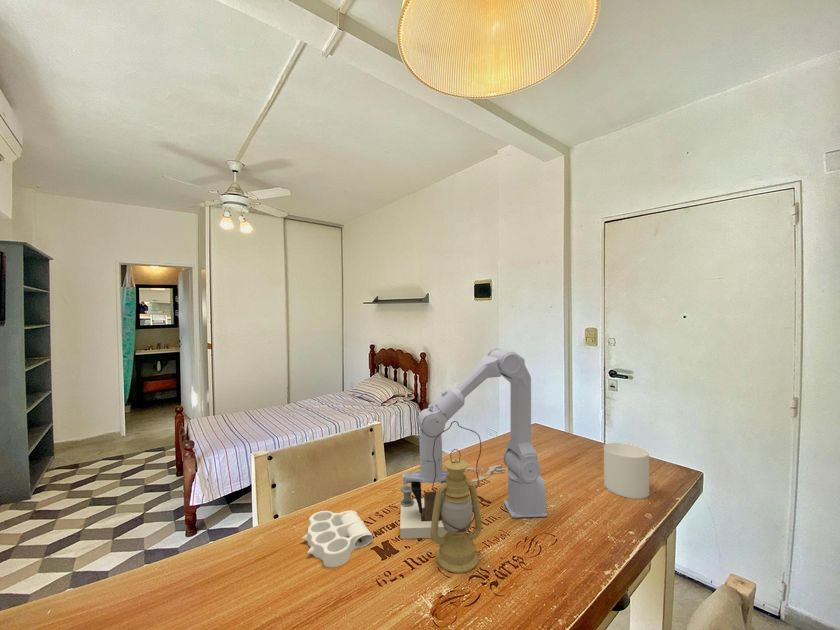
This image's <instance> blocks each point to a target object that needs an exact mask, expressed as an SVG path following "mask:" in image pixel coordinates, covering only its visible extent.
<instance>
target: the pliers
mask: <svg viewBox="0 0 840 630" xmlns="http://www.w3.org/2000/svg"><path fill="white" fill-rule="evenodd" d="M473 468H474V471H476V470H475V468H476V467H467V468H466V469H471V470H473ZM498 468H502V469H498ZM466 469H465V471H467V470H466ZM481 469H482V470H483V469H484V468H481ZM488 469H489V470H488V471H487V472H485V474H489V475H490V474H491V473H493V472H494V471H496V472H502V471H506V468H504V467H503V465H502V464H498V465H497V464H496V465H492V466H491V465H490V466H488ZM471 470H470V471H471ZM477 470H478V469H477ZM474 471H473V472H474ZM478 472H479V471H478ZM478 472H477V473H478ZM480 472H481V471H480ZM481 475H482V472H481V473H480V474H479V475H478V478H479V482H481V481H480V480H482V481H484V480H483V479H485V478H484V475H482V476H481ZM490 476H491V475H490ZM486 477H487V476H486ZM478 478H475V479H471V480H472V481H473V482H474V483H476V482H475V481H478ZM485 480H486V479H485Z"/></svg>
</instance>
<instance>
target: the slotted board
mask: <svg viewBox="0 0 840 630" xmlns="http://www.w3.org/2000/svg"><path fill="white" fill-rule="evenodd" d="M400 492H401V493H403V499H400V512H399V513H400V521H399V540H400V539H401V540H406V539H408V540H409V539H411V540H412V539H432V538H431V522H432V521H425V520H424V521H422V518H424V498H421V502H422V513H419V507H418V503H417V500H416V498H412V493H413V492H412V489H411V484H410V485H409V484H406V485H403V486H401V487H400ZM439 518H441V516H440V515H439ZM446 533H447V531H446V530H445V528H444V526H443V523H442V521H441V520H440V521H439V524H438V536H439V537H443V536H444V535H445V534H446Z"/></svg>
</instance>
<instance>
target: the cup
mask: <svg viewBox="0 0 840 630" xmlns="http://www.w3.org/2000/svg"><path fill="white" fill-rule="evenodd" d="M603 474H604V475H603V483H604V484H603V485H604V487H605V489H606V490H608V491H609V492H610V493H612V494H614V495H617V496H619V497H623V498H627V499H632V500H642V499H646V498H648V497H649V496H650V454H649V451H648V450H646V449H645V448H644V447H640V446H639V445H634V444H630V443H626V442H608V443H606V444H604V445H603Z"/></svg>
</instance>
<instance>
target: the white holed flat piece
mask: <svg viewBox="0 0 840 630" xmlns="http://www.w3.org/2000/svg"><path fill="white" fill-rule="evenodd" d="M300 539H301V540H304V541H307V545H308V546H309V547H310V548H309V549H308V551H307V552H306V554H309V555H310V554H311V555H312V556H313V557H315V558H317V559H320V560H321V561H322V562H323V566H324V567H326V568H336V567H337V568H338V567H340V566H343V565H346V564H347V563H348V561H349V560H350V558H351V553H352V552H353V551H354V550H358V549H359V548H364V547H366V546H368V545H369V544H370V543H372V541H373V540H374V537H373V533H372V532H370V530H369V529H368V528H367V526H366V525H365V522H364V521H363V520H362V519H361V518H360V516H359V514H358V512H357V511H355V510H352V509H351V510H344V511H342V512H333V511H330V510H321V511H318V512H315V513H313V514H311V516H310V517H309V518H308V528H307V533H306V534H304V535H303V536H302V537H301V538H300ZM359 539H360V540H361V542H360V540H359Z"/></svg>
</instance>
